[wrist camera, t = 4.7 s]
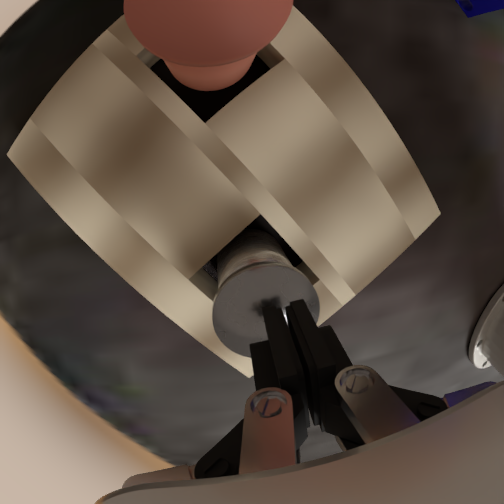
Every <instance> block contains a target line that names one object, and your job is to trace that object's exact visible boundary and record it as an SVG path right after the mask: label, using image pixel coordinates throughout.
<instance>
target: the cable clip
mask: <svg viewBox="0 0 504 504" xmlns="http://www.w3.org/2000/svg"><path fill="white" fill-rule="evenodd" d="M455 1H456V2H457V3H458V4H459V6H460V7H461V8H462V10H463V11H464V13H465V14H466V15H467V17H468V18H469V17H472V16H476V15H480V14H483V13H487V12H491V11H495V10H499V9H504V0H455Z"/></svg>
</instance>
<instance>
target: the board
mask: <svg viewBox="0 0 504 504" xmlns="http://www.w3.org/2000/svg"><path fill="white" fill-rule="evenodd" d="M257 55H258V56H259V57H260V58H261V59H262V60H263V61H264V63H265V64H266V65H267V66H268V67H269V68H270V70H269V71H268V72H266V73H265V74H264V75H263V76H261V77H260V78H259V79H257V80H256V81H255V82H254V83H252V84H251V85H250V86H249V87H247V88H246V89H245V90H244V91H242V92H241V93H240V94H239V95H237V96H236V97H235V98H234V99H233V100H231V101H230V102H229V103H228V104H227V105H225V106H224V107H223V108H222V109H221V110H220V111H218V112H217V113H216V114H215V115H214V116H213V117H212V118H210V119H209V120H208V121H207V122H206V123H204V122H203V121H202V120H201V119H200V118H199V117H198V116H197V115H196V114H195V113H194V112H193V111H192V110H191V109H190V108H189V107H188V106H187V105H186V104H185V103H184V102H183V101H182V100H181V99H180V98H179V97H178V96H177V95H176V94H175V93H174V92H173V91H172V90H171V89H170V88H169V87H168V86H167V85H166V84H165V83H164V82H163V81H162V80H161V79H160V78H159V77H158V76H157V75H156V74H155V73H154V72H153V71H152V70H150V69H149V68H151V67H152V66H153V65H154V64H155V63H156V62H157V61H158V60H159V59H161V58H159V57H157V56H155V55H154V54H152V53H151V52H149V51H148V50H147V49H145V48H144V47H143V46H142V44H141V43H140V42H139V41H138V40H137V39H136V37H135V36H134V35H133V33H132V32H131V30H130V29H129V27H128V25H127V22H126V20H125V15H122V16H121V17H120V18H119V19H118V20H117V21H116V22H114V23H113V24H112V25H111V26H110V27H109V28H108V29H107V30H106V31H105V32H104V33H102V34H101V35H100V36H99V37H98V38H97V39H96V40H95V41H94V42H93V43H92V44H91V45H90V46H89V47H88V48H87V49H86V50H85V51H84V52H83V53H82V55H81V56H80V57H79V58H78V59H77V60H76V61H75V62H74V63H73V64H72V65H71V67H70V68H69V69H68V70H67V71H66V72H65V73H64V75H63V76H62V77H61V78H60V79H59V81H58V82H57V83H56V84H55V85H54V87H53V88H52V89H51V90H50V92H49V93H48V94H47V95H46V97H45V98H44V99H43V101H42V102H41V103H40V105H39V106H38V107H37V109H36V110H35V112H34V113H33V114H32V116H31V117H30V119H29V120H28V122H27V123H26V125H25V126H24V128H23V129H22V131H21V132H20V134H19V135H18V137H17V138H16V140H15V142H14V143H13V145H12V147H11V148H10V150H9V152H8V153H7V156H8V157H9V158H10V159H11V161H12V162H13V163H14V164H15V166H16V167H17V168H18V169H19V170H20V172H21V173H22V174H23V175H24V176H25V178H26V179H27V180H28V181H29V182H30V184H31V185H32V186H33V187H34V188H35V189H36V190H37V192H38V193H39V194H40V195H41V196H42V197H43V198H44V199H45V201H46V202H47V203H48V204H49V205H50V206H51V207H52V208H53V209H54V210H55V212H56V213H57V214H58V215H59V216H60V217H61V218H62V219H63V220H64V221H65V222H66V223H67V224H68V225H69V226H70V227H71V228H72V229H73V230H74V231H75V233H76V234H77V235H78V236H79V237H80V238H81V239H82V240H83V241H84V242H85V243H86V244H87V245H88V246H89V247H90V248H92V249H93V250H94V251H95V252H96V253H97V254H98V255H99V256H100V257H101V258H102V259H103V260H104V261H105V262H106V263H107V264H108V265H109V266H110V267H111V268H113V269H114V270H115V271H116V272H117V273H118V274H119V275H120V276H121V277H122V278H123V279H125V280H126V281H127V282H128V283H129V284H130V285H131V286H132V287H133V288H135V289H136V290H137V291H138V292H139V293H140V294H141V295H143V296H144V297H145V298H146V299H147V300H148V301H150V302H151V303H152V304H153V305H154V306H155V307H157V308H158V309H159V310H160V311H161V312H163V313H164V314H165V315H166V316H167V317H169V318H170V319H171V320H172V321H174V322H175V323H176V324H177V325H179V326H180V327H181V328H182V329H184V330H185V331H186V332H187V333H189V334H190V335H191V336H193V337H194V338H195V339H196V340H198V341H199V342H200V343H202V344H203V345H204V346H206V347H207V348H208V349H210V350H211V351H212V352H214V353H215V354H216V355H218V356H219V357H220V358H222V359H223V360H224V361H226V362H227V363H229V364H230V365H231V366H233V367H234V368H236V369H237V370H238V371H240V372H241V373H243V374H244V375H246V376H247V377H248V378H250V377H251V376H253V375H254V373H253V366H252V360H251V358H249V357H244V356H242V355H239V354H237V353H235V352H233V351H231V350H230V349H228V348H227V347H226V346H225V345H224V344H223V343H222V342H221V341H220V340H219V338H218V337H217V335H216V333H215V330H214V327H213V321H212V306H213V300H214V297H215V294H216V292H217V290H218V282H217V281H216V280H215V279H214V278H213V277H211V276H210V275H209V274H208V273H207V272H206V271H205V270H204V269H203V268H202V267H203V266H204V265H205V264H206V263H207V262H208V261H209V260H210V259H211V258H212V257H213V256H215V255H216V254H217V253H218V252H219V251H220V250H221V249H222V248H223V247H224V246H226V245H227V244H228V243H229V242H230V241H231V240H232V239H233V238H234V237H236V236H237V235H238V234H239V233H240V232H241V231H242V230H243V229H244V228H245V227H247V226H248V225H249V224H250V223H251V222H252V221H253V220H254V219H256V218H257V217H258V216H259V215H260V214H261V215H262V216H263V217H264V218H265V219H266V220H267V221H268V222H269V223H270V225H271V226H272V227H273V228H274V229H275V230H276V231H277V232H278V233H279V234H280V236H281V237H282V238H283V239H284V240H285V241H286V242H287V243H288V244H289V245H290V247H291V248H292V249H293V250H294V251H295V252H296V253H297V254H298V255H299V257H300V258H301V259H302V260H303V261H302V262H301V263H300V264H299V265H298V266H297V267H295V268H297V269H298V270H300V271H301V272H302V273H303V274H304V275H305V276H306V277H307V278H308V279H309V281H310V282H311V284H312V285H313V287H314V288H315V290H316V292H317V295H318V298H319V302H320V313H319V318H318V322H317V324H316V325H317V327H318V326H319V325H321V324H322V323H323V322H324V321H325V320H327V319H328V318H329V317H330V316H332V315H333V314H334V313H335V312H336V311H338V310H339V309H340V308H341V307H342V306H344V305H345V304H346V303H347V302H348V301H349V300H351V299H352V298H353V297H354V296H355V295H356V294H358V293H359V292H360V291H361V290H362V289H363V288H364V287H366V286H367V285H368V284H369V283H370V282H371V281H372V280H373V279H375V278H376V277H377V276H378V275H379V274H380V273H381V272H382V271H383V270H384V269H385V268H387V267H388V266H389V265H390V264H391V263H392V262H393V261H394V260H395V259H396V258H397V257H398V256H399V255H400V254H401V253H402V252H403V251H404V250H406V249H407V248H408V247H409V246H410V245H411V244H412V243H413V242H414V241H415V240H416V239H417V238H418V237H419V236H420V235H421V234H422V233H423V232H424V231H425V230H426V229H427V228H428V227H429V226H430V225H431V223H432V222H433V221H434V220H435V219H436V218H437V217H438V216H439V215H440V214H441V213H440V211H439V209H438V206H437V204H436V202H435V200H434V198H433V196H432V194H431V192H430V190H429V188H428V186H427V184H426V182H425V181H424V179H423V177H422V175H421V173H420V171H419V169H418V168H417V166H416V164H415V162H414V161H413V159H412V157H411V155H410V154H409V152H408V150H407V149H406V147H405V145H404V144H403V142H402V140H401V139H400V137H399V135H398V134H397V132H396V131H395V129H394V128H393V126H392V124H391V123H390V121H389V120H388V118H387V117H386V115H385V114H384V112H383V111H382V110H381V108H380V107H379V105H378V104H377V102H376V101H375V100H374V98H373V97H372V95H371V94H370V93H369V91H368V90H367V89H366V87H365V86H364V85H363V83H362V82H361V81H360V79H359V78H358V77H357V75H356V74H355V73H354V72H353V70H352V69H351V68H350V67H349V65H348V64H347V63H346V62H345V61H344V59H343V58H342V57H341V56H340V55H339V53H338V52H337V51H336V50H335V49H334V48H333V47H332V45H331V44H330V43H329V42H328V41H327V40H326V39H325V38H324V37H323V35H322V34H321V33H320V32H319V31H318V30H317V29H316V28H315V27H314V26H313V25H312V24H311V23H310V22H309V21H308V20H307V19H306V18H305V17H304V16H303V15H302V14H301V13H300V12H299V11H298V10H297V9H296V8H295V7H294V6H292V9H291V13H290V15H289V17H288V19H287V21H286V23H285V24H284V26H283V27H282V29H281V30H280V32H279V33H278V34H277V36H276V37H275V38H274V39H273V40H272V41H271V42H270V43H269V44H268V45H267V46H265V47H264V48H263V49H261V50H260V51H258V52H257Z"/></svg>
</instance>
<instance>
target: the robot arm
mask: <svg viewBox="0 0 504 504" xmlns="http://www.w3.org/2000/svg"><path fill="white" fill-rule="evenodd" d="M285 310H286V316H287V322H288V325H287V322H286V319H285V317H284V314H283V311H282V308H277V309H276V306H275V305H273V306H269V307H264V308H262V313H263V318H264V323H265V327H266V332H267V337H268V340H265V341H261V342H256V343H251V344H249V346H250V353H251V360H252V366H253V373H254V380H255V386H256V392H254V393H253V394H252V395H250V397H249V398H248V399H247V401H246V405H245V413H244V418H243V419H242V420H241V421H240V422H239V423H238V424H237V425H236V426H235V427H234V428H233V429H232V430H231V431H230V432H229V433H228V434H227V435H226V436H225V437H224V438H223V439H222V440H221V441H219V442H218V443H217V444H216V445H215V446H214V447H213V448H212V449H211V450H210V451H209V452H207V453H206V454H205V455H204V456H203V457H202V458H201V459H200V460H199V461H198V462H197V464H195V465H191V466H188V465H187V464H184V465H180V466H176V467H172V468H168V469H163V470H158V471H154V472H148V473H143V474H138V475H134V476H132V477H130V478H128V479H127V480H126V481H125V483H124V484H123V487H122V489H119V490H116V491H113V492H111V493H109V494H107V495H105V496H103V497H102V498H100V499H99V500H97V502H96V503H95V504H504V381H501V382H498V383H496V382H491V381H490V382H485V383H482V384H479V385H475V386H472V387H469V388H466V389H462V390H459V391H456V392H452V393H448V394H445V395H444V398H439V397H436V396H433V395H429V394H424V393H420V392H415V391H411V390H406V389H402V388H398V387H394V386H390V385H388V384H387V383H386V382H385V381H384V380H383V379H382V378H381V376H380V375H379V374H378V373H377V372H376V371H375V370H373V369H372V368H370V367H368V366H363V365H354V366H353V365H352V363H351V361H350V359H349V357H348V356H347V354H346V352H345V350H344V348H343V347H342V345H341V343H340V341H339V339H338V338H337V336H336V334H335V332H334V330H333V329H332V327H331V326H330V325H328V326H324V327H320V328H318V327H317V325H316V323H315V321H314V319H313V317H312V315H311V313H310V311H309V309H308V307H307V305H306V303H305V301H304V299H300V300H295V301H291V302H290V306H285ZM469 359H470V361H471V363H472V364H473V365H474V366H475V367H476V368H479V369H481V368H486V367H489V366H491V365H492V366H493V367H494V368H495V369H496V370H497V371H498V372H499V373H500V374H501V375H502V376H503V377H504V284H503V285H502V286H501V287H500V288H499V290H498V291H497V292H496V293H495V295H494V296H493V297H492V299H491V300H490V302H489V303H488V305H487V306H486V308H485V310H484V311H483V313H482V315H481V317H480V319H479V321H478V323H477V325H476V327H475V330H474V332H473V335H472V338H471V341H470V346H469ZM308 408H309V411H310V414H311V417H312V420H313V424H314V426H316V425H320V428H321V431H322V432H324V431H326V432H327V433H330V434H333V435H335V439H336V441H337V443H338V445H339V446H340V448H341V450H342V451H343V452H341V453H337V454H334V455H331V456H327V457H323V458H320V459H316V460H312V461H308V462H304V463H301V456H300V446H301V445H302V444H303V442H304V441H305V440H306V438H307V437H308V434H307V428H308V427H310V421H309V411H308Z"/></svg>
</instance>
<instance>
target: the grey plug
mask: <svg viewBox="0 0 504 504" xmlns="http://www.w3.org/2000/svg"><path fill="white" fill-rule="evenodd" d="M217 273H218V290H217V292H216V294H215V297H214V300H213V306H212V321H213V327H214V330H215V333H216V335H217V337H218V338H219V340H220V341H221V342H222V343H223V344H224V345H225V346H226V347H227V348H228V349H230V350H231V351H233V352H235V353H237V354H239V355H242V356H244V357H249V358H251V353H250V346H249V344H251V343H256V342H261V341H265V340H268V337H267V332H266V327H265V323H264V318H263V313H262V308H264V307H269V306H273V305H275V306H276V309H277V308H282V311H283V314H284V317H285V319H286V322H287V316H286V310H285V306H290V302H291V301H295V300H300V299H304V301H305V303H306V305H307V307H308V309H309V311H310V313H311V315H312V317H313V319H314V321H315V323H316V324H317V322H318V318H319V313H320V302H319V298H318V295H317V292H316V290H315V288H314V287H313V285H312V284H311V282H310V281H309V279H308V278H307V277H306V276H305V275H304V274H303V273H302V272H301V271H300V270H298V269H297V268H295V267H293V266H292V264H291V263H290V261H289V260H288V258H287V256H286V255H285V253H284V251H283V250H282V248H281V246H280V245H279V243H278V242H277V240H276V239H275V238H274V237H273V236H271V235H270V234H269V233H267V232H265V231H262V230H258V229H245V230H242V231H241V232H240V233H239V234H238V235H237V236H236V237H234V238H233V239H232V240H231V241H230V242H229V243H228V244H227V245H226V246H224V247H223V248H222V249H221V250H220V251H219V252H218V256H217ZM287 325H288V322H287Z"/></svg>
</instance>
